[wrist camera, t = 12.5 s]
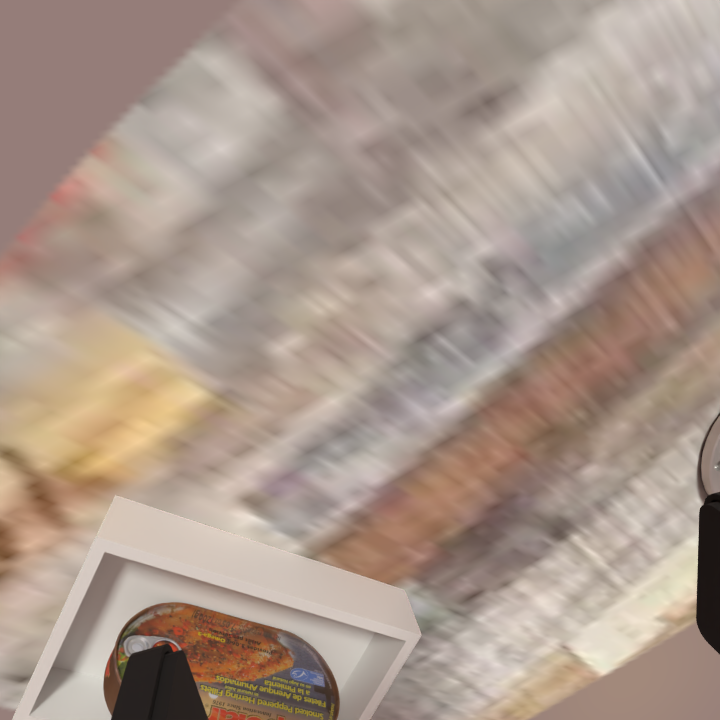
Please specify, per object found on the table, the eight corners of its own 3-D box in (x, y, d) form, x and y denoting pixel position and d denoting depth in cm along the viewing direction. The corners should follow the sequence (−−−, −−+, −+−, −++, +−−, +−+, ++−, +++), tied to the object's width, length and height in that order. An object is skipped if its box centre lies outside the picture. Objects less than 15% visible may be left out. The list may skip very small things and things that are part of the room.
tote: (38, 663, 37) (10, 723, 33) (115, 495, 35) (95, 536, 30) (322, 728, 43) (329, 785, 39) (404, 589, 41) (421, 634, 37)
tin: (333, 643, 40) (352, 752, 32) (314, 675, 41) (328, 791, 33) (134, 585, 36) (100, 696, 28) (116, 623, 36) (77, 741, 28)
